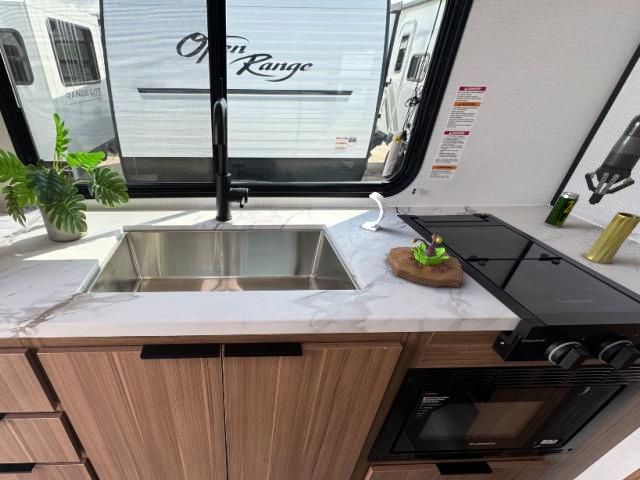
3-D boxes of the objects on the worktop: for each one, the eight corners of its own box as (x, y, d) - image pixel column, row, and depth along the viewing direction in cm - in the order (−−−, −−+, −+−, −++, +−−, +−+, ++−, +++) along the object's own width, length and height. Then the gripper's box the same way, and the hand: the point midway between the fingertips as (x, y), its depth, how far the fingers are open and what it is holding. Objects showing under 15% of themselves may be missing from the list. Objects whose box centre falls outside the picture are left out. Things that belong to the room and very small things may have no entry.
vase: (603, 265, 98) (638, 220, 90) (579, 256, 103) (610, 213, 94) (614, 261, 100) (649, 217, 92) (590, 253, 105) (621, 210, 96)
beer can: (540, 223, 125) (558, 192, 118) (548, 221, 127) (567, 190, 120) (555, 228, 121) (575, 196, 114) (564, 226, 123) (584, 195, 116)
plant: (390, 280, 89) (403, 243, 82) (384, 250, 104) (394, 216, 98) (471, 292, 85) (491, 254, 78) (452, 258, 100) (467, 224, 94)
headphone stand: (366, 223, 122) (374, 192, 115) (382, 228, 119) (391, 195, 112) (361, 227, 119) (369, 194, 112) (377, 231, 116) (386, 198, 109)
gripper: (656, 153, 103) (617, 206, 113) (600, 146, 110) (569, 197, 120) (657, 156, 98) (617, 211, 108) (599, 149, 106) (566, 201, 116)
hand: (591, 203), depth 114 cm, fingers closed
